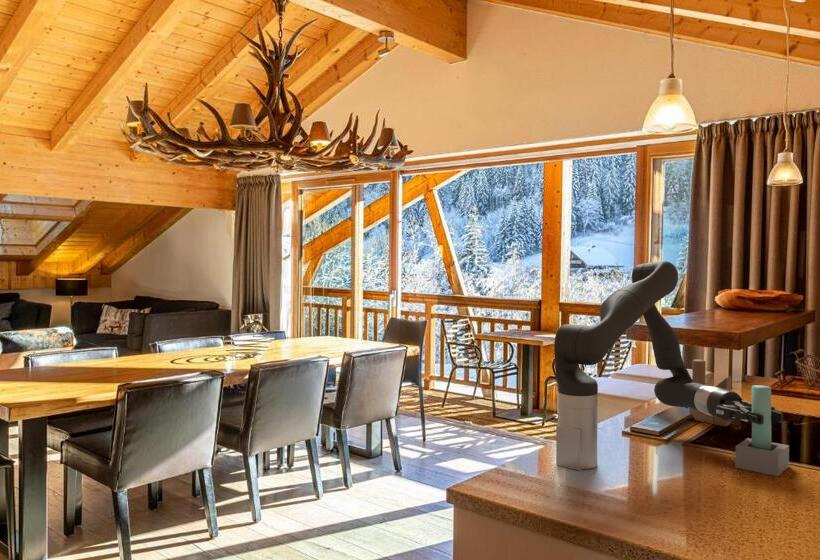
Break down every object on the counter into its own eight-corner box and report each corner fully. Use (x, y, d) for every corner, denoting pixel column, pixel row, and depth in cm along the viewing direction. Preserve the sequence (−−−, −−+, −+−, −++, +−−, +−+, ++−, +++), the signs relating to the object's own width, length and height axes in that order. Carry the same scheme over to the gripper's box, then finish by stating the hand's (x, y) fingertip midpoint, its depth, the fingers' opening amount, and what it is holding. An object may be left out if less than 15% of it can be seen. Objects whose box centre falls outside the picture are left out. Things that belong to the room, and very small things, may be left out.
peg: (768, 467, 150) (768, 389, 149) (749, 463, 152) (749, 387, 152) (773, 462, 152) (773, 386, 152) (754, 459, 155) (754, 384, 155)
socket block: (778, 476, 146) (778, 454, 146) (735, 467, 152) (735, 446, 152) (788, 466, 153) (789, 445, 152) (747, 458, 159) (747, 438, 159)
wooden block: (725, 426, 187) (726, 364, 186) (688, 419, 195) (689, 360, 194) (731, 424, 189) (732, 363, 189) (694, 417, 197) (695, 358, 197)
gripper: (694, 389, 163) (747, 405, 147) (741, 386, 167) (797, 400, 151) (694, 419, 164) (746, 438, 147) (740, 415, 168) (796, 432, 151)
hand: (772, 419), depth 149 cm, fingers open, 5 cm apart
